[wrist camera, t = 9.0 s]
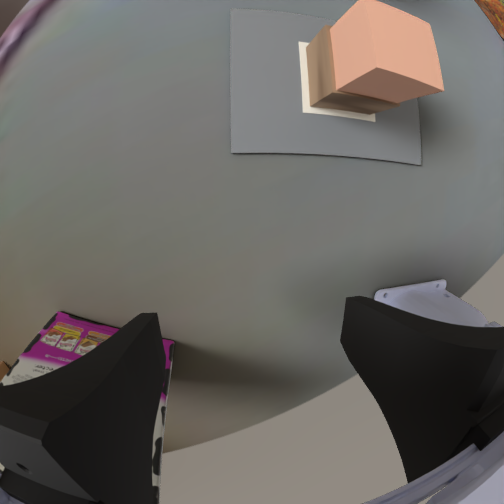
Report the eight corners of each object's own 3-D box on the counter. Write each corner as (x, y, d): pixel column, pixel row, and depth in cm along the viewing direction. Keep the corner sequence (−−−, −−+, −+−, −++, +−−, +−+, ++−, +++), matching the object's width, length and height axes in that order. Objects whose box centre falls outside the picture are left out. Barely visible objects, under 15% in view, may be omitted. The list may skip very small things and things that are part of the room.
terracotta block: (389, 45, 13) (429, 23, 8) (397, 103, 14) (444, 90, 10) (329, 29, 12) (363, -5, 8) (336, 90, 13) (376, 67, 9)
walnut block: (364, 59, 16) (391, 42, 13) (369, 114, 18) (400, 106, 14) (305, 47, 16) (325, 24, 12) (309, 106, 17) (332, 92, 13)
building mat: (406, 44, 17) (409, 43, 16) (418, 165, 20) (421, 165, 19) (230, 11, 15) (230, 7, 14) (231, 153, 18) (231, 152, 17)
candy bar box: (62, 353, 20) (-10, 485, 5) (57, 308, 19) (-47, 443, 3) (172, 382, 22) (159, 551, 7) (177, 339, 21) (158, 538, 6)
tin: (452, -25, 13) (485, -41, 5) (456, -28, 12) (488, -43, 4) (510, 53, 17) (546, 48, 9) (512, 47, 17) (546, 42, 9)
